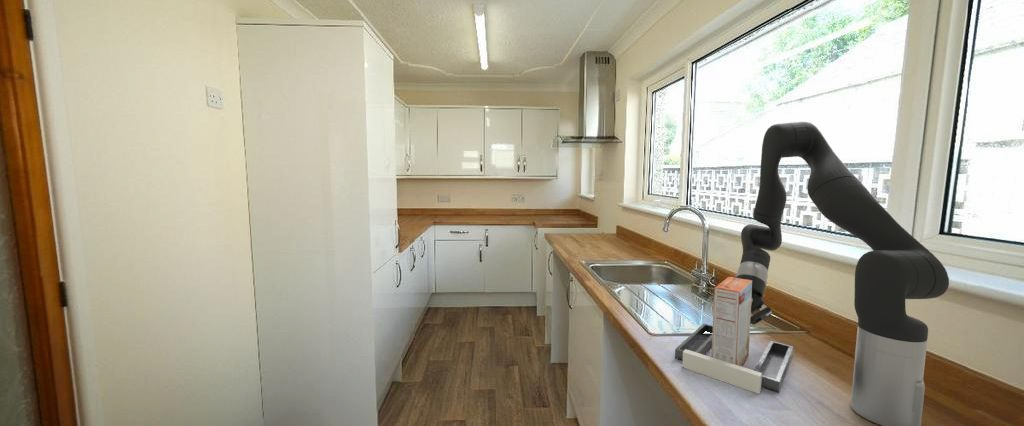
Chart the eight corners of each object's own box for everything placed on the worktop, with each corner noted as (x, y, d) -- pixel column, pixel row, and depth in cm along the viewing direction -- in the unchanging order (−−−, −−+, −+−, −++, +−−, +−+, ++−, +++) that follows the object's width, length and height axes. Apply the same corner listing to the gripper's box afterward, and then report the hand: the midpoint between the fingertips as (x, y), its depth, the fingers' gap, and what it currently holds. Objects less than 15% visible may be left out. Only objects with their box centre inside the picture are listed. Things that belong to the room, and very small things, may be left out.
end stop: (760, 390, 78) (762, 373, 78) (759, 394, 77) (760, 376, 77) (685, 364, 90) (685, 349, 89) (682, 367, 88) (682, 351, 88)
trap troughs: (792, 355, 95) (793, 346, 94) (778, 393, 77) (779, 382, 77) (703, 331, 110) (703, 323, 110) (674, 358, 93) (675, 349, 92)
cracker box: (723, 349, 98) (727, 275, 96) (749, 356, 94) (754, 279, 92) (708, 368, 88) (713, 286, 86) (736, 377, 84) (741, 291, 82)
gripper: (723, 269, 106) (708, 320, 98) (777, 278, 96) (766, 335, 89) (726, 283, 110) (713, 333, 102) (779, 292, 101) (768, 348, 93)
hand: (738, 333), depth 96 cm, fingers closed
